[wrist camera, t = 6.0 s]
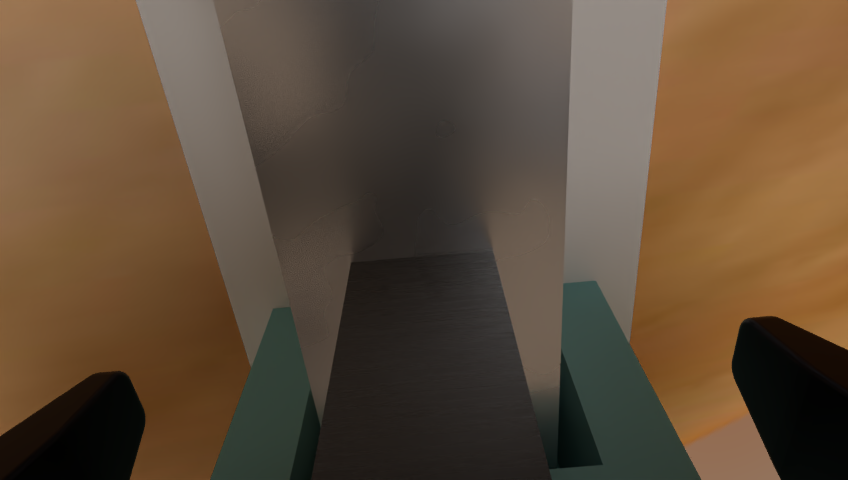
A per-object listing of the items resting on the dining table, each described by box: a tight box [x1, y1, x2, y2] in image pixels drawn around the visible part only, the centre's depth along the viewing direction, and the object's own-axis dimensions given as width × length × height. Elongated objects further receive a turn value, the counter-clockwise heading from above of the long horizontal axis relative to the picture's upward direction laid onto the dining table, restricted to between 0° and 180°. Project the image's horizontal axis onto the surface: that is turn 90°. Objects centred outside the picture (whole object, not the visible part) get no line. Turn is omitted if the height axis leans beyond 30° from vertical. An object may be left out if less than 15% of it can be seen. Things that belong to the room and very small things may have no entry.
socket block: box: [210, 281, 701, 480], centre depth 12 cm, size 4×8×6 cm, turn 95°
